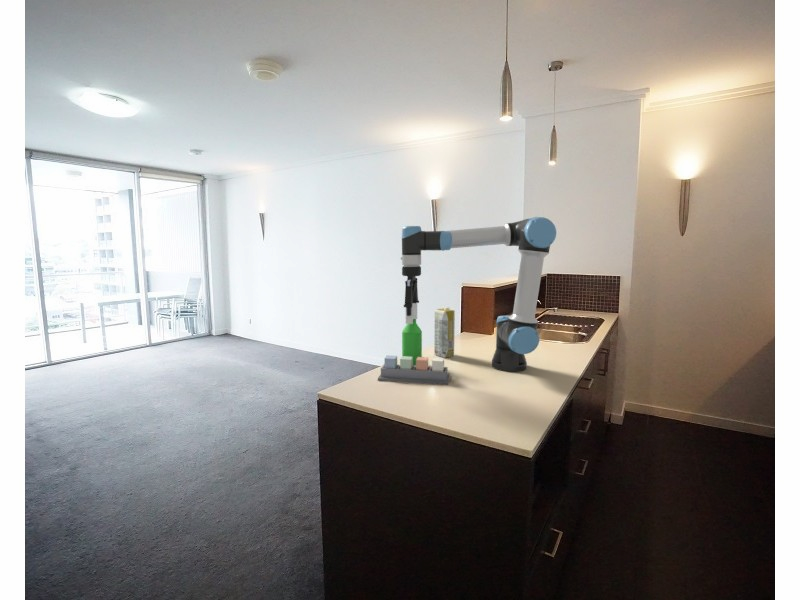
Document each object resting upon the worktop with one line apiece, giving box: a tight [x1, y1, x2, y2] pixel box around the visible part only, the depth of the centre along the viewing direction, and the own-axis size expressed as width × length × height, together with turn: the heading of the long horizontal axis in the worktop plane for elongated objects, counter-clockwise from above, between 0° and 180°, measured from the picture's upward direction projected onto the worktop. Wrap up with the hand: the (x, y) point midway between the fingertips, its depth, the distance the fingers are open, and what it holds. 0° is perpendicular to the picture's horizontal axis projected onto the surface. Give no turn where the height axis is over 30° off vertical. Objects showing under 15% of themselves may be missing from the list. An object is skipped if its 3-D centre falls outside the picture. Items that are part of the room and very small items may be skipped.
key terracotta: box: [416, 356, 429, 371], centre depth 164 cm, size 4×4×5 cm
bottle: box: [401, 319, 423, 365], centre depth 182 cm, size 9×9×25 cm
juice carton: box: [433, 306, 456, 359], centre depth 197 cm, size 9×8×24 cm
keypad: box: [377, 363, 451, 386], centre depth 165 cm, size 28×11×4 cm, turn 79°
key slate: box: [384, 355, 398, 369], centre depth 167 cm, size 4×4×5 cm
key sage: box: [399, 355, 413, 370], centre depth 166 cm, size 4×4×5 cm
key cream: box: [431, 357, 445, 371], centre depth 163 cm, size 4×4×5 cm
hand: (411, 321), depth 163 cm, fingers open, 10 cm apart
